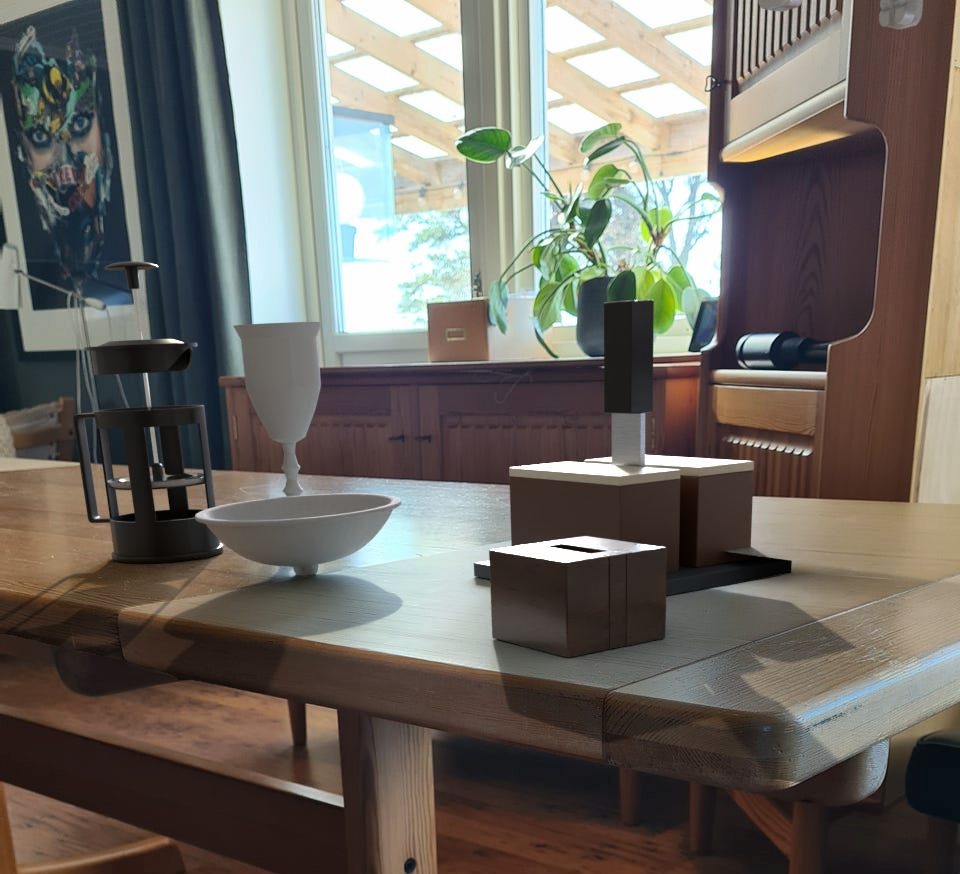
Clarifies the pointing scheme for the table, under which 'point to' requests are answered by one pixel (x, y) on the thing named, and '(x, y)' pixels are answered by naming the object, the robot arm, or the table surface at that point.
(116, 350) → the french press
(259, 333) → the chalice
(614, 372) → the knife
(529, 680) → the table surface
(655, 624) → the knife block
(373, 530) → the dish
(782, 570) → the brown box set
